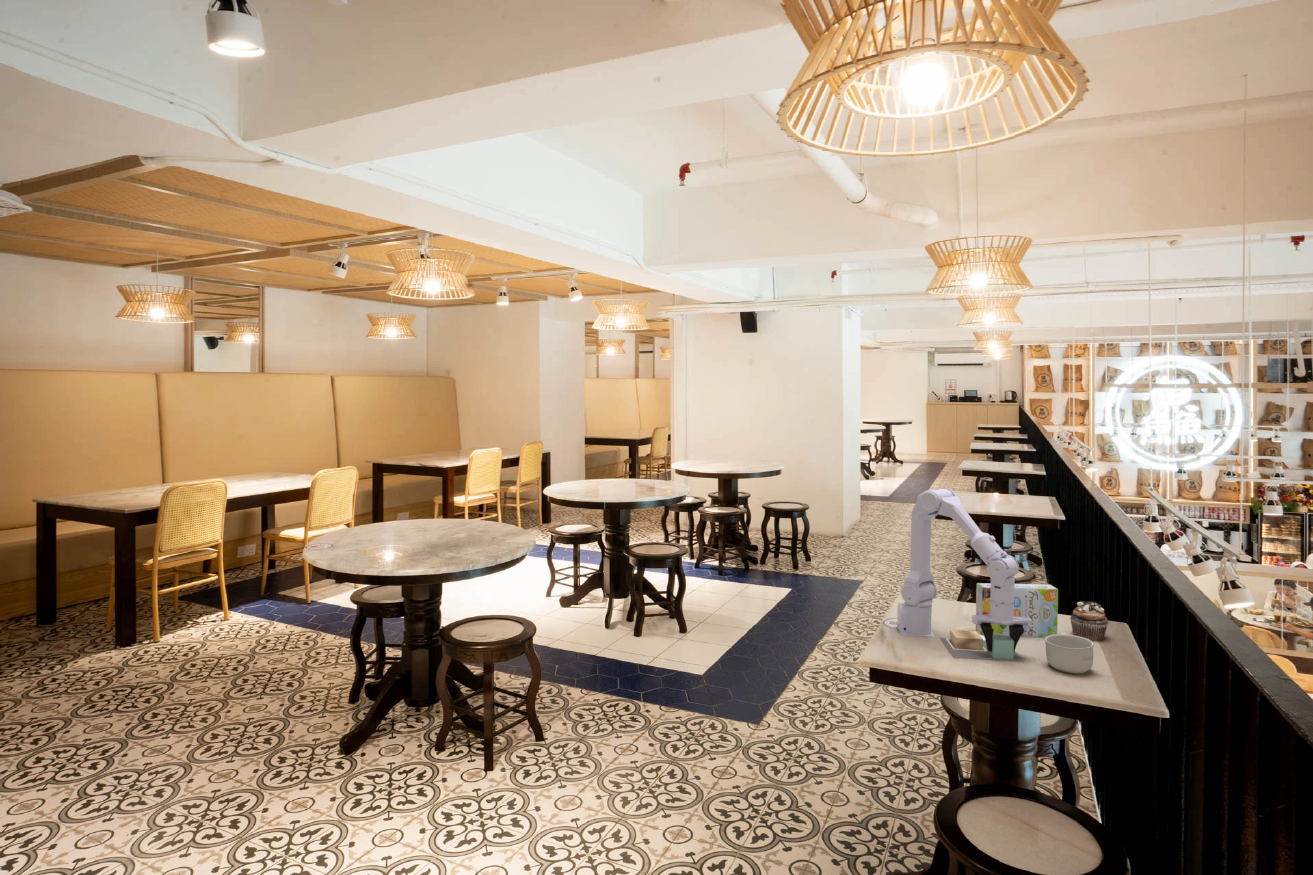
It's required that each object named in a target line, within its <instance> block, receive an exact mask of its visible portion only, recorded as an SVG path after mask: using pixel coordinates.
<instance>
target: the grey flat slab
mask: <svg viewBox="0 0 1313 875" xmlns="http://www.w3.org/2000/svg"><path fill="white" fill-rule="evenodd" d="M939 639H940V641H941V642H942V643H943V645H944V647H945V648H946V650H947V652H948V653H949V654H950V655H951V657H952V658H953V659H963V660H964V659H965V660H966V659H967V660H980V661H981V660H983V661H996V662H998V661H999V662H1015V663H1016V662H1017V663H1026V660H1024V659H1023V658H1022V657H1021V655H1019V654H1018V653H1017V652H1016V651H1015V652H1014V658H1013V659H998V658H993V657H992V656H991V655H990V654H989V652H988V650H987V644H986V640H985V639H983V650H973V649H956V648H955V646H954V645H953V644H952V642H951V641H950V637H948V638H947V637H939Z"/></svg>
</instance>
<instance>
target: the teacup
mask: <svg viewBox="0 0 1313 875" xmlns="http://www.w3.org/2000/svg"><path fill="white" fill-rule="evenodd" d="M1044 642H1045V657H1046V661H1047V663H1048V664H1049V665H1050V666H1051V667H1052V668H1054V669H1055V670H1057V671H1060V672H1062V673H1067V674H1075V675H1081V674H1085V673H1086V672H1087V671H1089V670H1091V668H1092V667H1093V665H1094V646H1095V644H1094V641H1091V640H1089V639H1086V638H1083V637H1079V636H1074V635H1073V634H1068V633H1066V632H1061V633H1059V634H1058V633H1057V634H1056V635H1050V636H1047V637H1044Z"/></svg>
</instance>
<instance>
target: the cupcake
mask: <svg viewBox="0 0 1313 875" xmlns="http://www.w3.org/2000/svg"><path fill="white" fill-rule="evenodd" d="M1076 604H1077V606H1076V607H1075V608H1074V609H1073V610H1072V614H1071V615H1070V617H1069V619H1070V624H1071V629H1072V635H1074V636H1079V637H1083V638H1086V639H1089V640H1090V641H1092V642H1097V641H1099V642H1101V641H1104V640H1105V636H1106V631H1107V628H1108V626H1109V619H1108V618H1107V617H1106V613H1105V609H1104V608H1103V607H1102V605H1101V604H1098V603H1097V601H1083V600H1080V601H1077V603H1076Z"/></svg>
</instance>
